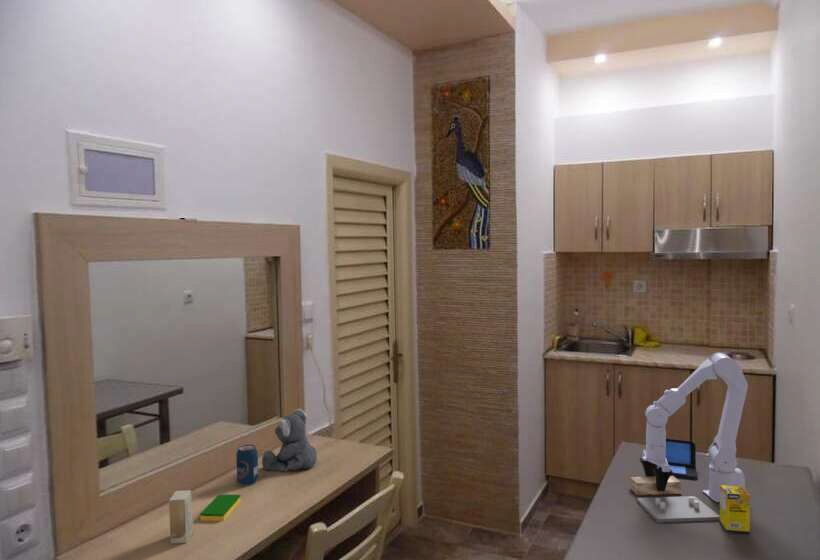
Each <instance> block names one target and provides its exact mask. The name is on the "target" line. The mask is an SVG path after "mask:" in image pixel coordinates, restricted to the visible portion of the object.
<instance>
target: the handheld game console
mask: <svg viewBox="0 0 820 560" xmlns="http://www.w3.org/2000/svg"><path fill="white" fill-rule="evenodd" d="M696 454H697V453H696V443H695V442H694V441H692V440H691V441H690V440H681V439H674V438H672V439H671V438H666V459H667V463H668V465H669V466H670V469H671V470H672V471H673V473H672V474H671V476H674V477H675V478H677V477H678V478H679V479H685V478H686V479H685V480H697V479H698V473H697V461H696V460H697V459H696V456H697V455H696ZM656 468H658V469H659V466H656ZM678 478H677V479H678Z"/></svg>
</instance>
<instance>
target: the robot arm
mask: <svg viewBox="0 0 820 560" xmlns="http://www.w3.org/2000/svg"><path fill="white" fill-rule="evenodd" d="M717 376H719V378H721V379H722V380H723V381H724V383H725V384H726V385H727V390H726V394H725V399H724V404H723V409H722V412H721V417H720V422H719V426H718V430H717V434H716V436H714V438H713V442H712V443H711V445H710V446H709V447H708V450H707V454H708V457H709V458H710V459H711V460H710V463H709V464H708V489H704V490H702V493H704V494H705V495H706V496H708V497H709V498H710V499H712V500H713V501H714V502H716V503H720V485H727V486H742V487H743V488H744V489H745V490H746V478H745V474H744V472H743V470H741V469H740V468H738V467H737V465H738V459H737V457H736V453H737V442H736V441H737V436H738V433H739V432H738V431H739V427H740V423H741V418H742V415H743V414H742V413H743V410H744V409H743V408H744V405H745V401H746V397H747V392H748V389H749V388H748V387H749V384H748V382H747V379H746V376H745V374H744V372H743V370H742V366H740V365H739V364H738V363H737V362H736V360H734V359H733V358H731V357H730V356H729V355H728V354H727V353H724V352H714V353H713V354H712V355H711V356H710V357H709V358H706V360H704V361H702V363H701V364H700V365H699V366H698V368H696V369H695V370H694V371H693V372H692V373H691V374H690V375H689V376H688V377H687V378H686V379H685V380H684V381H683V382H682V383H681V384H680V385H679V386H678V387H677V388H676V387H675V388H670V389H669V390H668V389H665V390H664V391H663V393H664V394H663V395H662V396H661V397H660V398H659V399H657V400H654V401H653V402H652V404H651V405H649V406H648V407H647V408H646V410H645V411H644V416H645V417H646V425H645V426H646V428H645V449H642V456H641V457H640V458H639V461H640V463H641V465H642V467H643V471H644V477H653V476H655V479H656V487H657V490H658V491H665V488H666V485H667V482H668V479H669V477H670V476H671V474H672V473H673V471H672V470H671V469H670V466H669V465H668V463H667V459H666V439H667V437H666V435H667V431H666V424H667V423H668V420H669V417H671V416H672V415H673V414H674V413H675V412H676V411H678V410H679V409H680V408H681V407H682V406H684V404H685V403H686V401H687V400H686V397H687V396H688V395H689V394H690V393H692V392H693V391H694V390H695V389H697V388H698V387H699V386H700V385H702V384H703V383H704V382H706V381H707V380H718V377H717ZM656 466H659V469H658V468H656Z"/></svg>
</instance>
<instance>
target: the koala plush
mask: <svg viewBox="0 0 820 560" xmlns="http://www.w3.org/2000/svg"><path fill="white" fill-rule="evenodd" d="M307 418H308V414H307V413H306V412H305V411H304V410H303V409H302V408H297V409H295V410H293V412H292V413H288V414H285V415H284V416H283V417H282V418H281V419H280V420H279V422H278V426H276V428H275V430H274V432H275V435H276V437H277V439H278V441H280V442H281V443H282V445H281V447H280V449H279V451H278V453H277V455H276V454H275V453H274V452H273V451H272V450H267V451H266V450H265V451H264V452H263V455H262V458H261V464H262V468H263V469H264V470H266V471H274V472H278V471H279V472H283V473H287V472H290V471H298V470H300V469H311V468H312V467H313V466H315V464H316V463H317V459H318V455H317V453H318V452H317V449H316V448H315V447H314V446H312V445H311V444H310V442H309V441H308V438H307V436H306V426H305V425H307V422H308V419H307Z"/></svg>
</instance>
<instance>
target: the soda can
mask: <svg viewBox="0 0 820 560" xmlns="http://www.w3.org/2000/svg"><path fill="white" fill-rule="evenodd" d="M235 456H236V457H235V459H236V460H235V461H236V481H237V482H238V485H241V486H244V487H246V486H253V485H255V484H256V483H257V481H258V480H259V458H258V456H259V455H258V449H257V447H256V446H255V445H254V444H243V445H240V446H238V447H237V451H236V453H235Z"/></svg>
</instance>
